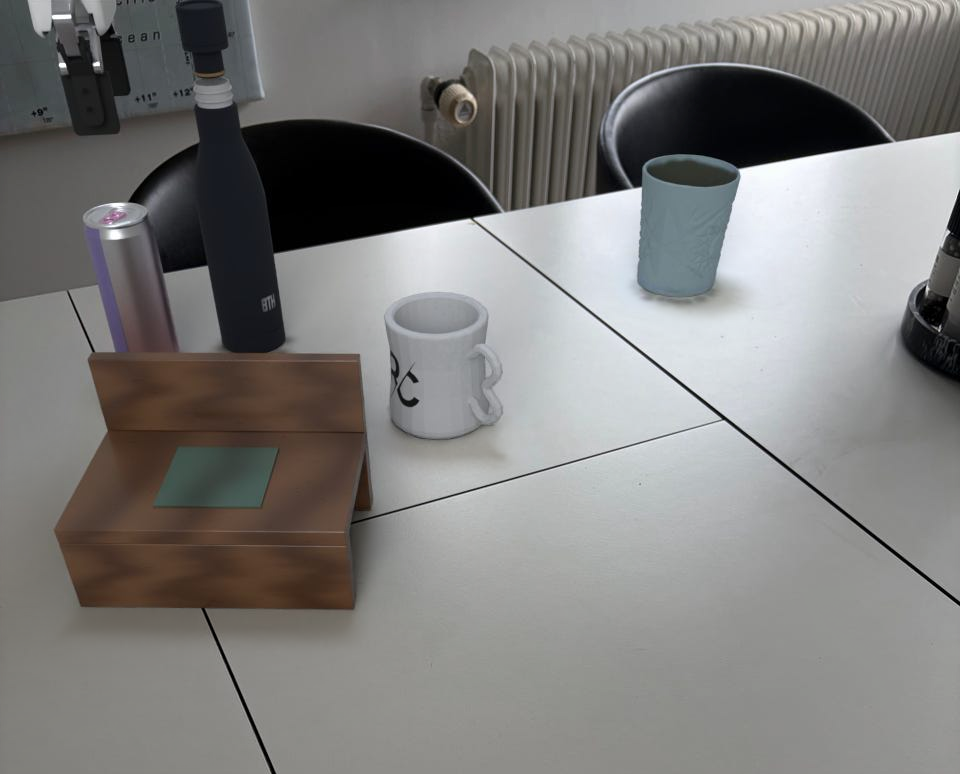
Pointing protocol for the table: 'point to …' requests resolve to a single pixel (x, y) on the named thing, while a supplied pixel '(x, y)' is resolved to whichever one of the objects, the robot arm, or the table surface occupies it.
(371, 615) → the table surface
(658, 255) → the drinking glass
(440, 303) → the mug
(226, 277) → the dark bottle
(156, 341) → the beverage can
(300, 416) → the shelf
